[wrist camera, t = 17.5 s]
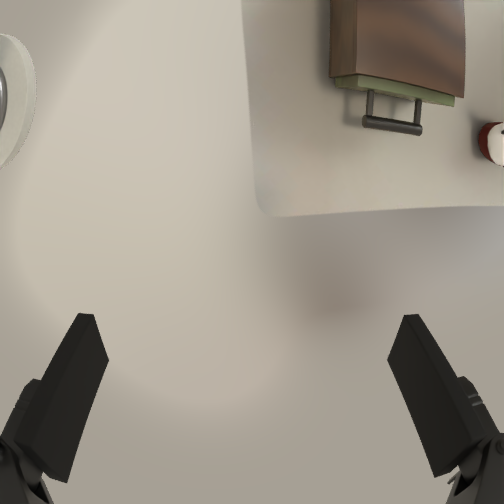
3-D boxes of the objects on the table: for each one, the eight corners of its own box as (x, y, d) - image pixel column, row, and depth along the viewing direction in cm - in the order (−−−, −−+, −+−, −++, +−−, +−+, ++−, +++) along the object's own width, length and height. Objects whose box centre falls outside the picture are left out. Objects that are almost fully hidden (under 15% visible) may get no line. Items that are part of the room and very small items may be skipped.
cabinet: (420, 93, 33) (463, 98, 25) (328, 77, 33) (355, 72, 24) (421, -5, 27) (461, -21, 18) (329, -28, 26) (354, -58, 18)
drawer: (416, 133, 35) (450, 144, 28) (333, 121, 35) (354, 129, 28) (421, 6, 27) (454, -5, 20) (337, -15, 27) (358, -36, 20)
